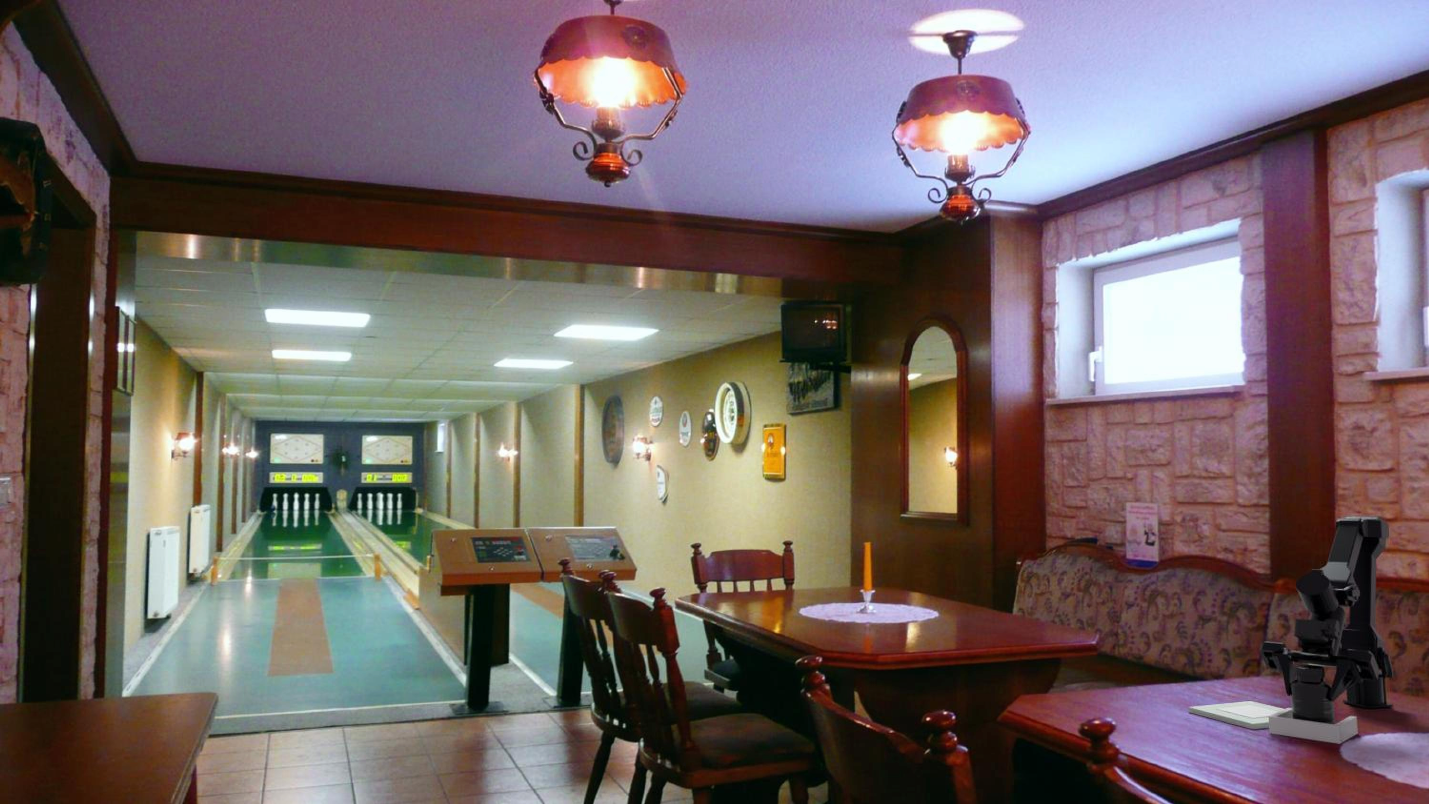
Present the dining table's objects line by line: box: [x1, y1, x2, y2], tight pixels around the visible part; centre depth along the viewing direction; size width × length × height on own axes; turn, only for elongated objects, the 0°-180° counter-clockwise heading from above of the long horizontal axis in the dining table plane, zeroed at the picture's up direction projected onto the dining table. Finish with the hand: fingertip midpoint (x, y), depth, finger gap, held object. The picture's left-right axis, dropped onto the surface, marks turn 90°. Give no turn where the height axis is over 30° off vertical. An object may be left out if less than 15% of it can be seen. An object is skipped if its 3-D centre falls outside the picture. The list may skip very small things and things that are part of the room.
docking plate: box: [1188, 700, 1285, 730], centre depth 201 cm, size 16×16×1 cm
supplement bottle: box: [1290, 664, 1336, 724], centre depth 188 cm, size 7×7×12 cm
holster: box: [1268, 707, 1359, 745], centre depth 187 cm, size 10×12×3 cm
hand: (1309, 697), depth 187 cm, fingers closed on supplement bottle, 7 cm apart
